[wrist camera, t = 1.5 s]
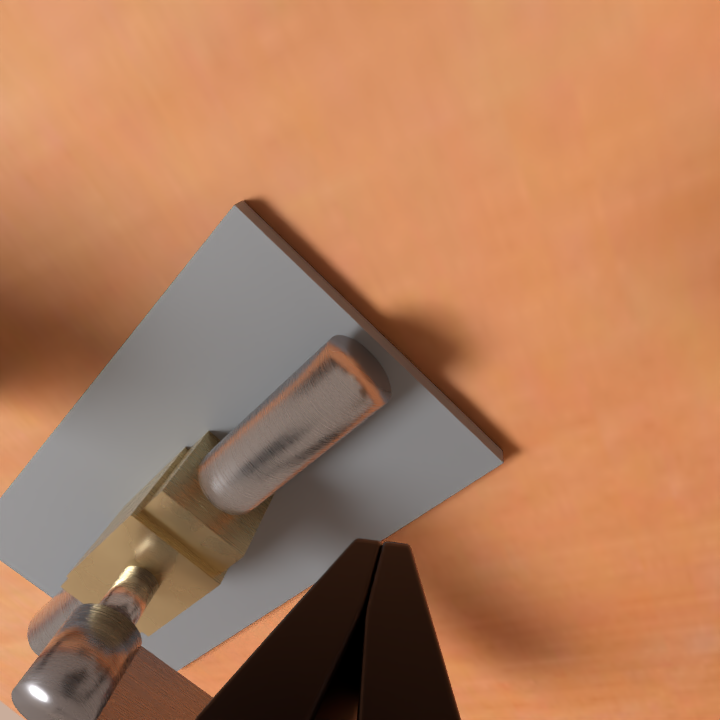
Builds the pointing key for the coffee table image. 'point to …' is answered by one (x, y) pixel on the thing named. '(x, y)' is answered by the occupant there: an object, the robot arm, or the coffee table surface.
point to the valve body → (217, 496)
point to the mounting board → (220, 416)
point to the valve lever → (104, 675)
